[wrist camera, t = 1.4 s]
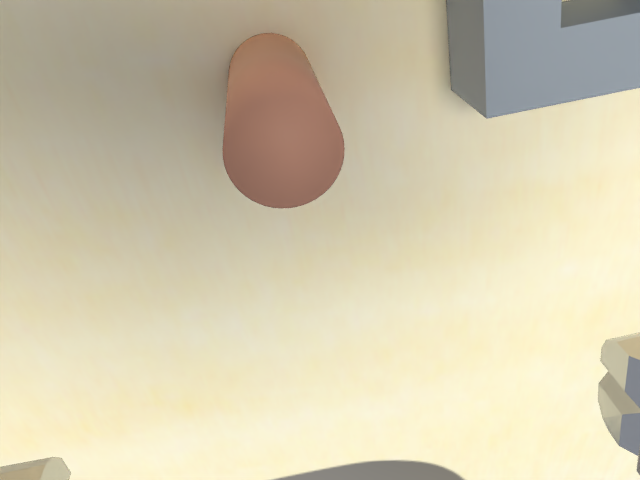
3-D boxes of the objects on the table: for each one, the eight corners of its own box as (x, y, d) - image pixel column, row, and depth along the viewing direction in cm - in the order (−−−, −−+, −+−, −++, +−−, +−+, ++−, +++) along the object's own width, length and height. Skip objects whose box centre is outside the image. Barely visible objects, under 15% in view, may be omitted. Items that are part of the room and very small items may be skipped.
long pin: (239, 122, 30) (238, 218, 20) (219, 41, 28) (208, 106, 18) (316, 107, 30) (352, 195, 20) (302, 25, 28) (334, 81, 18)
